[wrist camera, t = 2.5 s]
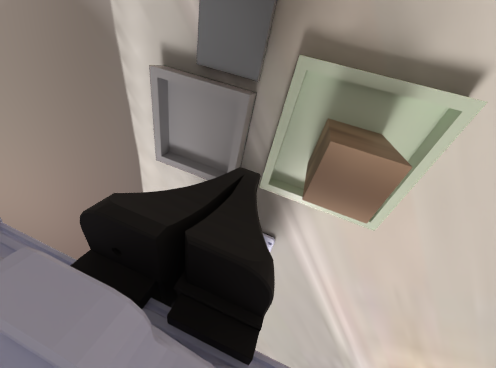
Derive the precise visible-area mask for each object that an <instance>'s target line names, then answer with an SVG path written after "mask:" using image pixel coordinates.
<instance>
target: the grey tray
mask: <svg viewBox="0 0 496 368" xmlns="http://www.w3.org/2000/svg"><path fill="white" fill-rule="evenodd" d="M149 69H150V83H151V97H152V111H153V125H154V139H155V153H156V160H157V161H160V162H162V163H165V164H168V165H170V166H173V167H175V168H178V169H181V170H183V171H186V172H188V173H191V174H194V175H196V176H199V177H201V178H204V179H207V180H211V179H213V178H216V177H219V176H221V175H223V174H226V173H228V172H230V171H232V170H235V169H237V168H239V167H241V162H242V158H243V153H244V149H245V144H246V140H247V135H248V130H249V126H250V121H251V117H252V112H253V108H254V103H255V99H256V94H257V93H255V92H252V91H249V90H245V89H242V88H238V87H235V86H232V85H228V84H225V83H221V82H218V81H215V80H211V79H208V78H204V77H201V76H198V75H194V74H191V73H187V72H184V71H181V70H177V69H174V68H170V67H167V66H161V65H149Z"/></svg>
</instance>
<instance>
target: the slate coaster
mask: <svg viewBox="0 0 496 368" xmlns="http://www.w3.org/2000/svg"><path fill="white" fill-rule="evenodd" d="M276 3H277V0H200V3H199V23H198V44H197V64H198V65H202V66H206V67H209V68H213V69H216V70H220V71H223V72H227V73H230V74H234V75H237V76H241V77H244V78H248V79H251V80H255V81H259V80H260V76H261V71H262V67H263V62H264V57H265V53H266V48H267V44H268V39H269V35H270V30H271V25H272V21H273V16H274V12H275V7H276Z"/></svg>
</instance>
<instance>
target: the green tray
mask: <svg viewBox="0 0 496 368" xmlns="http://www.w3.org/2000/svg"><path fill="white" fill-rule="evenodd" d="M486 103H487V102H485V101H481V100H477V99H473V98H469V97H465V96H462V95H458V94H454V93H450V92H446V91H442V90H438V89H434V88H430V87H426V86H422V85H418V84H414V83H410V82H406V81H402V80H398V79H394V78H390V77H386V76H382V75H378V74H374V73H370V72H366V71H363V70H359V69H355V68H351V67H347V66H343V65H339V64H335V63H331V62H327V61H323V60H319V59H315V58H311V57H307V56H303V55H299V59H298V62H297V65H296V68H295V72H294V75H293V78H292V81H291V85H290V88H289V91H288V95H287V98H286V101H285V104H284V108H283V111H282V114H281V117H280V121H279V124H278V127H277V131H276V134H275V137H274V140H273V144H272V147H271V150H270V154H269V157H268V160H267V163H266V167H265V170H264V173H263V176H262V180H261V183H260V186H259V188H261V189H264V190H266V191H269V192H272V193H274V194H277V195H280V196H283V197H285V198H288V199H291V200H293V201H296V202H299V203H301V204H304V205H307V206H309V207H312V208H315V209H317V210H320V211H323V212H325V213H328V214H331V215H333V216H336V217H339V218H341V219H344V220H347V221H349V222H352V223H355V224H357V225H360V226H363V227H365V228H368V229H371V230H373V231H375V230H376V229H377V228H378V226H379V225H380V224H381V223H382V222H383V221H384V220H385V218H386V217H387V216H388V215H389V214H390V213H391V212H392V210H393V209H394V208H395V207H396V206H397V205H398V204H399V203H400V201H401V200H402V199H403V198H404V197H405V196H406V195H407V193H408V192H409V191H410V190H411V189H412V188H413V187H414V185H415V184H416V183H417V182H418V181H419V180H420V179H421V177H422V176H423V175H424V174H425V173H426V172H427V171H428V169H429V168H430V167H431V166H432V165H433V164H434V163H435V162H436V160H437V159H438V158H439V157H440V156H441V155H442V154H443V152H444V151H445V150H446V149H447V148H448V147H449V146H450V144H451V143H452V142H453V141H454V140H455V139H456V138H457V136H458V135H459V134H460V133H461V132H462V131H463V130H464V128H465V127H466V126H467V125H468V124H469V123H470V122H471V121H472V119H473V118H474V117H475V116H476V115H477V114H478V113H479V111H480V110H481V109H482V108H483V107H484V106H485V105H486ZM328 118H329V119H332V120H336V121H339V122H342V123H346V124H349V125H352V126H356V127H359V128H362V129H366V130H369V131H373V132H376V133H379V134H382V135H383V136H384V137H385V138H386V139H387V140H388V141H389V142H390V143H391V144H392V146H393V147H394V148H395V149H396V150H397V151H398V152H399V153H400V154H401V155H402V156H403V157H404V158H405V159H406V160H407V162H408V163H409V164H410V165H411V166H412V167H413V168H412V169H411V170H410V171H409V172H408V174H407V175H406V176H405V177H404V179H403V180H402V181H401V182H400V184H399V185H398V186H397V187H396V188H395V190H394V191H393V192H392V193H391V195H390V196H389V197H388V198H387V199H386V201H385V202H384V203H383V204H382V206H381V207H380V208H379V209H378V210H377V212H376V213H375V214H374V215H373V217H372V218H371V219H370V220H369V221H368V223H367V224H366V223H363V222H360V221H358V220H355V219H352V218H350V217H347V216H344V215H341V214H339V213H336V212H333V211H331V210H328V209H325V208H323V207H320V206H317V205H315V204H312V203H309V202H306V201H304V200H302V197H303V191H304V184H305V178H306V171H307V164H308V162H309V159H310V157H311V155H312V153H313V150H314V148H315V146H316V144H317V141H318V139H319V137H320V135H321V132H322V130H323V128H324V126H325V123H326V121H327V119H328Z"/></svg>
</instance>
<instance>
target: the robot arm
mask: <svg viewBox="0 0 496 368" xmlns="http://www.w3.org/2000/svg"><path fill="white" fill-rule="evenodd" d="M259 180H260V174H258V173H255V172H252V171H250V170H247V169H244V168H241V167H239V168H237V169H235V170H232V171H230V172H228V173H226V174H223V175H221V176H219V177H216V178H213V179H211V180H208V181H205V182H202V183H199V184H195V185H191V186H187V187H183V188H177V189H171V190H165V191H156V192H144V193H114V194H112V195H110V196H109V197H107V198H105V199H103V200H102V201H100V202H98V203H97V204H95V205H93V206H92V207H90V208H88V209H87V210H85V211H83V213H82V214H81V215H80V225H81V228H82V231H83V233H84V235H85V237H86V239H87V242H88V244H89V246H90V249H91V250H90V251H88V252H87V253H86V254H84V255H83V256H82V257H80V258H79V259H78V260H76V259H73V258H72V257H70V256H68V255H66V254H64V253H62V252H60V251H58V250H56V249H54V248H52V247H50V246H48V245H46V244H44V243H42V242H40V241H38V240H36V239H34V238H32V237H30V236H28V235H26V234H24V233H22V232H20V231H18V230H16V229H14V228H12V227H11V226H8V225H7V224H5V223H3V222H2V219H1V218H0V368H290V367H288V366H286V365H284V364H282V363H280V362H278V361H276V360H274V359H272V358H270V357H268V356H266V355H264V354H262V353H260V352H258V351H256V350H255V348H256V343H257V339H258V335H259V331H260V330H261V327H262V323H263V319H264V316H265V314H266V312H267V310H268V308H269V307H270V305H271V303H272V300H273V296H274V264H273V258H272V256H271V254H270V251H271V249H272V247H273V245H274V242H275V239H274V238H273V237H271V236H269V235H266V234H264V233H262V230H261V226H260V222H259V217H258V211H257V200H256V193H257V187H258V184H259ZM270 242H271V243H270Z"/></svg>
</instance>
